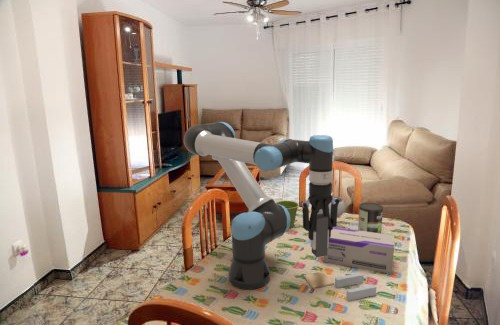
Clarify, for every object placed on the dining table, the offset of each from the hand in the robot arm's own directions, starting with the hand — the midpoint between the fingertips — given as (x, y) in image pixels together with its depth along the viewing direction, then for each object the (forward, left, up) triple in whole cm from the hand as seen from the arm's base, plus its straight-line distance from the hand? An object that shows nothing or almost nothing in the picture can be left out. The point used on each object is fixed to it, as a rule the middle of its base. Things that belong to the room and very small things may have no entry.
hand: (319, 246), depth 116 cm
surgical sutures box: (+21, +8, -13) cm, 26 cm away
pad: (0, 0, -13) cm, 13 cm away
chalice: (+25, +39, -13) cm, 48 cm away
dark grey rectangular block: (0, 0, -3) cm, 3 cm away
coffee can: (+39, +27, -13) cm, 49 cm away
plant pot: (+7, +49, -13) cm, 51 cm away
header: (+9, -9, -13) cm, 18 cm away
